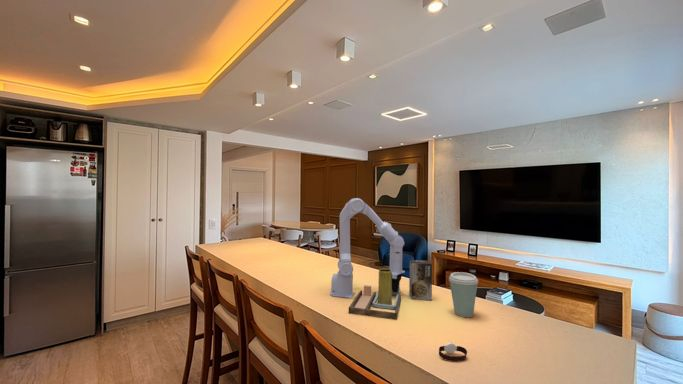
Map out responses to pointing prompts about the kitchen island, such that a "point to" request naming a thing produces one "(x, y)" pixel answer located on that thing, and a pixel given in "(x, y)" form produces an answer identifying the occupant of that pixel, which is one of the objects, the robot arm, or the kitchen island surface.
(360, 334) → the kitchen island surface
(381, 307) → the tray
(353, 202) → the robot arm
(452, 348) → the watch
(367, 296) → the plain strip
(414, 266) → the coffee box
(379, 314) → the lane rack
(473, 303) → the disposable coffee cup
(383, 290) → the vase
